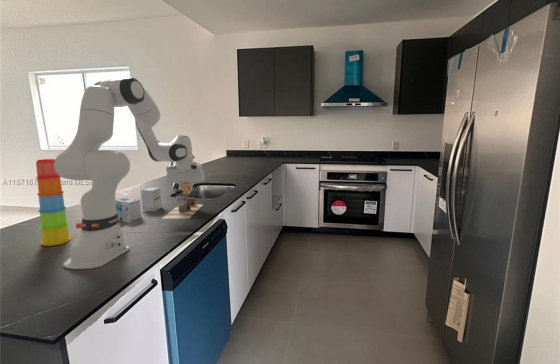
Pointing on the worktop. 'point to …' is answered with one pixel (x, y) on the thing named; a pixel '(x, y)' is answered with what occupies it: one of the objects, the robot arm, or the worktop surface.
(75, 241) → the robot arm
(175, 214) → the winding board
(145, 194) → the supplement box
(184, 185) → the tab
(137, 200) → the light bulb box
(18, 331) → the worktop surface
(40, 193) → the stacking cups
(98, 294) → the worktop surface
